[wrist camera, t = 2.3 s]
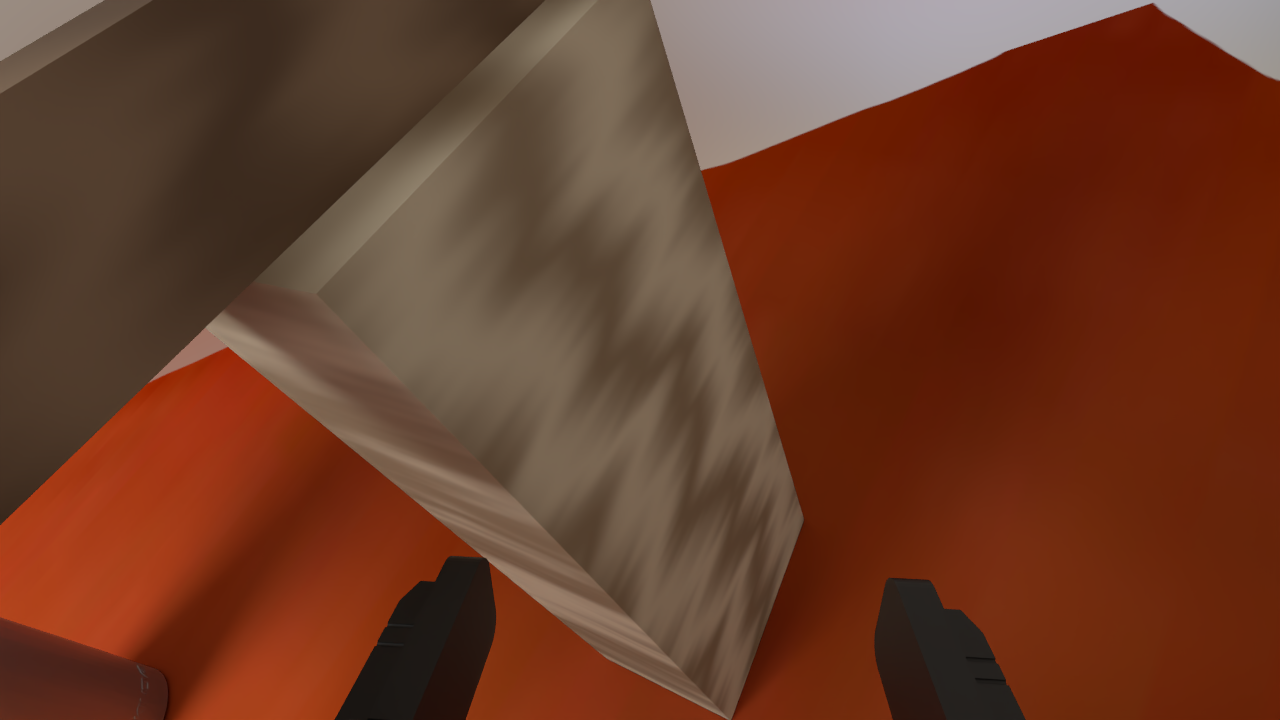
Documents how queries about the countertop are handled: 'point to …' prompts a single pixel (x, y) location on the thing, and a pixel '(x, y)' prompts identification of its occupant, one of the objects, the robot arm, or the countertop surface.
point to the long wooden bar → (185, 178)
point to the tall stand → (553, 348)
